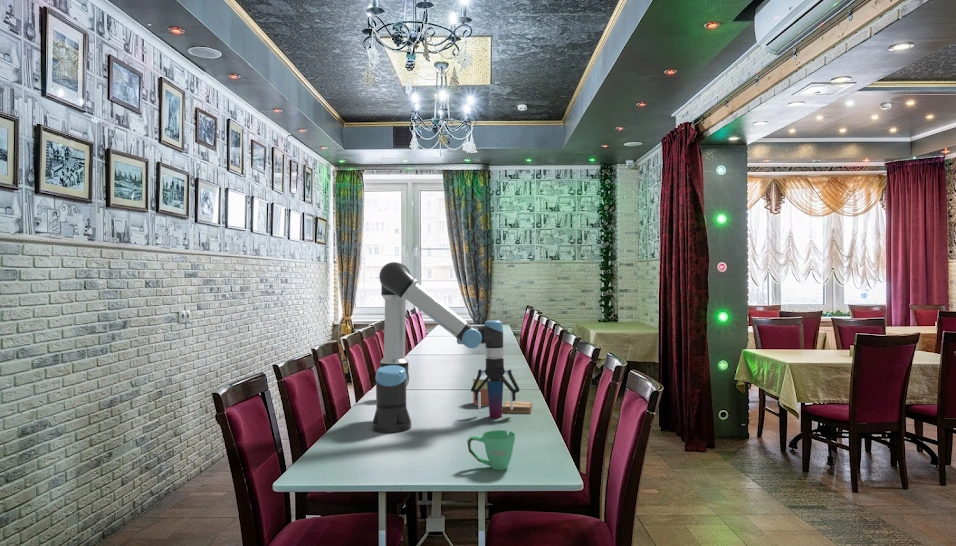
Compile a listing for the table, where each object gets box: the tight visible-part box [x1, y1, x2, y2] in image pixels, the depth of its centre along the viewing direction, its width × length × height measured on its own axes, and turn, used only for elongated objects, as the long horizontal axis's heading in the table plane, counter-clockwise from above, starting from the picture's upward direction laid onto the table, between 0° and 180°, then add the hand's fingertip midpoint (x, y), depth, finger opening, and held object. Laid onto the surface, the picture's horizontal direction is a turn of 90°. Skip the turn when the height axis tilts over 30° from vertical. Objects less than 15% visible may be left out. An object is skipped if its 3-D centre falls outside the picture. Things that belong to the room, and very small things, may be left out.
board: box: [502, 400, 533, 414], centre depth 255 cm, size 12×12×3 cm
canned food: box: [472, 375, 490, 407], centre depth 271 cm, size 11×11×12 cm
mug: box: [466, 429, 516, 471], centre depth 177 cm, size 15×10×10 cm
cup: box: [487, 380, 504, 419], centre depth 244 cm, size 7×7×15 cm
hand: (495, 408), depth 244 cm, fingers open, 13 cm apart
